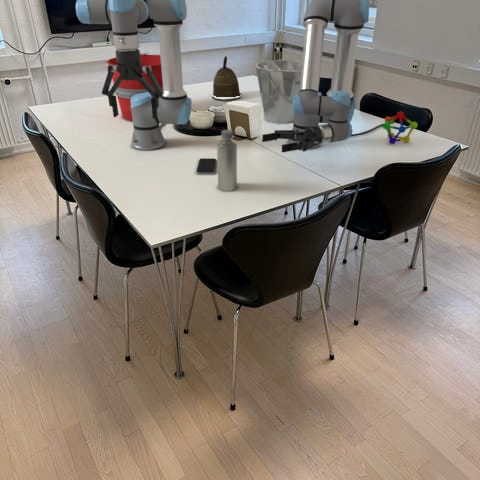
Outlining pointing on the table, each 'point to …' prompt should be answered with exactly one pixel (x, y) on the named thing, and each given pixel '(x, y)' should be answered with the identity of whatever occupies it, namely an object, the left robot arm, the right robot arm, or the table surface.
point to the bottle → (227, 165)
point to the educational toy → (398, 128)
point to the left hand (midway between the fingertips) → (135, 116)
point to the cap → (226, 134)
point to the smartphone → (206, 166)
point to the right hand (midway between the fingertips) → (272, 143)
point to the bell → (225, 82)
